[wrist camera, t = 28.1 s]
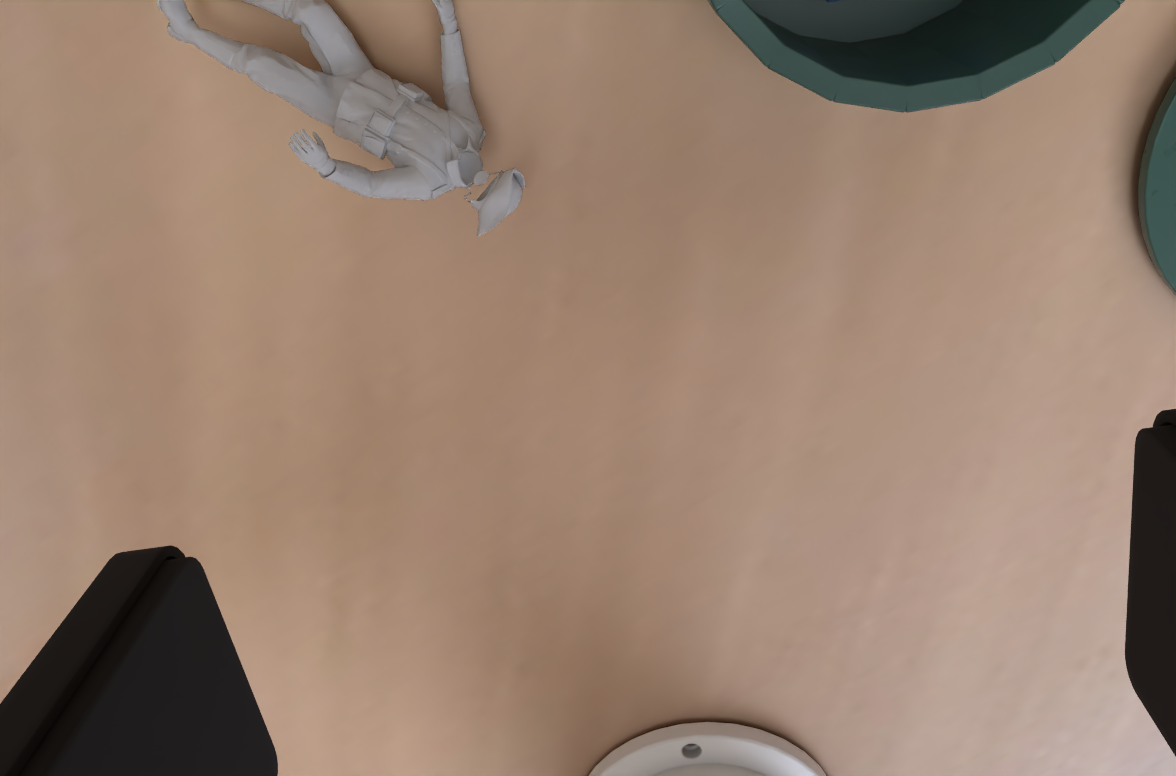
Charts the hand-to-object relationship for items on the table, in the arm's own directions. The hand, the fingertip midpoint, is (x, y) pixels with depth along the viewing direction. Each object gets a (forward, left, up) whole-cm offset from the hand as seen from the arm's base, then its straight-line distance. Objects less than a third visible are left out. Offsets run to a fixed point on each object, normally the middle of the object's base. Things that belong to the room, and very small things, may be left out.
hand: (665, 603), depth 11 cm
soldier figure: (+2, +9, -28) cm, 30 cm away
